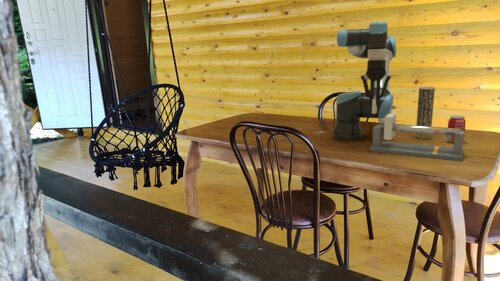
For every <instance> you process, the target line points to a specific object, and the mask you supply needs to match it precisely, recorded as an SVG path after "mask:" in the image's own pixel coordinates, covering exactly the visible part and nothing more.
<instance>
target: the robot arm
mask: <svg viewBox="0 0 500 281" xmlns="http://www.w3.org/2000/svg"><path fill="white" fill-rule="evenodd" d="M388 28H389V27H388V22H386V21H374V22H370V23H369V25H368V28H360V29H342V30H341V29H340V30H338V31H337V34H336V45H337V47H340V48H341V47H343V48H345V47H346V48H347V52H348V53H349V54H350V55H351V56H353V57H355V58H360V59H367V63H366V64H367V65H366V66H367V67H366V72H365V74H363V75H361V76H360V79H361V81H362V84H363V89H364V92H365V93H364V94H362V92H361V91H360V90H359V91H358V90H357V91H347V92H343V93H342V92H341V93H339V94H338V95H337V97H336V103H335V105H336V109H335V110H336V111H335V112H336V116H335V117H336V119H335V125H334V128H333V130H332V138H333V139H335V140H339V141H346V142H347V141H348V142H349V141H359V140H362V139H364V138H363V137H364V132H363V129H362V127H361V123H360V122H361V119H378V118H379V119H381V118H385V116H386V115H388V114H389V113H392V110H393V104H394V94H392V95H391V94H390V92H389V90H388V82H389V83H390V80H391V78H392V75H390V74H389V73H390V62H391V61H393V59H394V58H396V55H397V47H396V46H397V44H396V42H397V41H396V38H395V37H394V36H392V35H388ZM368 79H369V82H370V84H369V83H368ZM368 84H369V85H370V86H369V85H368Z"/></svg>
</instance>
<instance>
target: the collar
mask: <svg viewBox="0 0 500 281" xmlns="http://www.w3.org/2000/svg"><path fill="white" fill-rule="evenodd" d="M396 119H397V113H392V112H391V113H389V114H388V115H386V116H385V123H384V130H383V140H388V141H389V140H390V141H391V140H392V139H393V138H394V137H395V136H396V131H392V126H393V124H396Z"/></svg>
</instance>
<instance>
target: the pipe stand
mask: <svg viewBox="0 0 500 281" xmlns="http://www.w3.org/2000/svg"><path fill="white" fill-rule="evenodd" d="M463 138H464V139H465V133H464V131H460V133H455V140H454V143H453V147H450V146H449V147H448V146H439V145H428V144H427V145H426V144H417V143H415V144H414V143H407V142H405V143H404V142H394V141H383V139H384V130H381V127H378V124H376V125H374V126H373V128H372V145H371V146H370V147H368V152H372V153H383V154H391V155H399V156H400V155H401V156H411V157H418V158H419V157H420V158H428V159H439V160H447V161H456V162H463V157H464V150H465V148H463V147H464V146H463V145H464V140H463Z"/></svg>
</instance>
